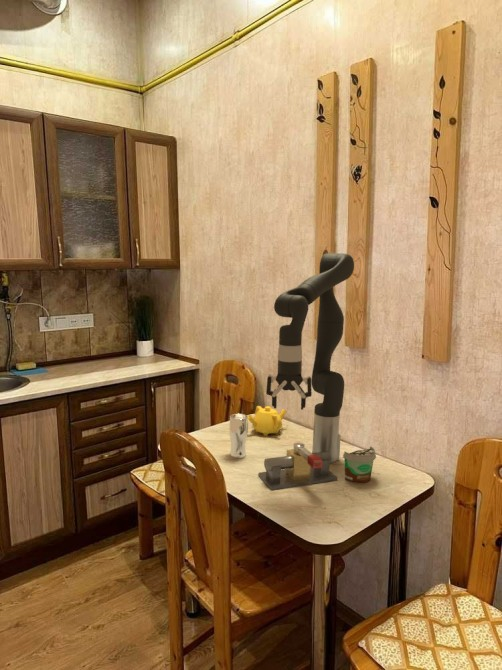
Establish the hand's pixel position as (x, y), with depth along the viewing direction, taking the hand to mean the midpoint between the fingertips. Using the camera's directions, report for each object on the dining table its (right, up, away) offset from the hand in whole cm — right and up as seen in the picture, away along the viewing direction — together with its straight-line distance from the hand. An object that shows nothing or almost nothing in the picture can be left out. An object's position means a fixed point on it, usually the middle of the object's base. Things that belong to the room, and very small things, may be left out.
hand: (288, 408), depth 148 cm
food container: (+25, -26, +7) cm, 37 cm away
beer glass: (-17, -22, +26) cm, 37 cm away
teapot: (-5, -18, +51) cm, 54 cm away
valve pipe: (+4, -25, +8) cm, 26 cm away
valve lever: (+6, -16, +1) cm, 17 cm away
